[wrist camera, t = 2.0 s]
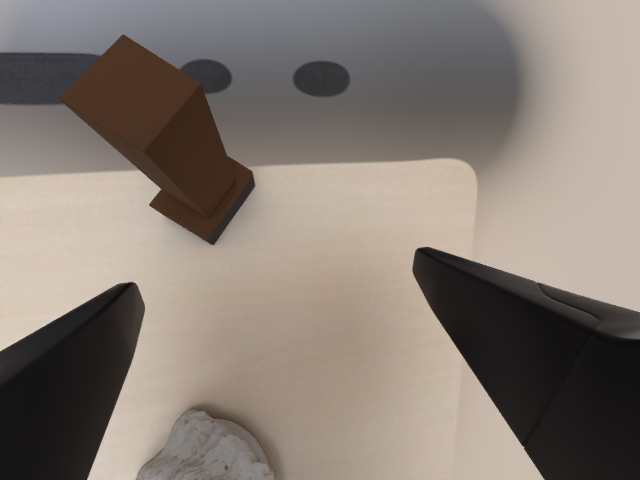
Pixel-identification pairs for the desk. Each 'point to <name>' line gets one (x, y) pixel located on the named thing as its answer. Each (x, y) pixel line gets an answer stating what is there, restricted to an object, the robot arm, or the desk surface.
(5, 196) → the desk surface
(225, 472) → the stone
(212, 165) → the stamp
